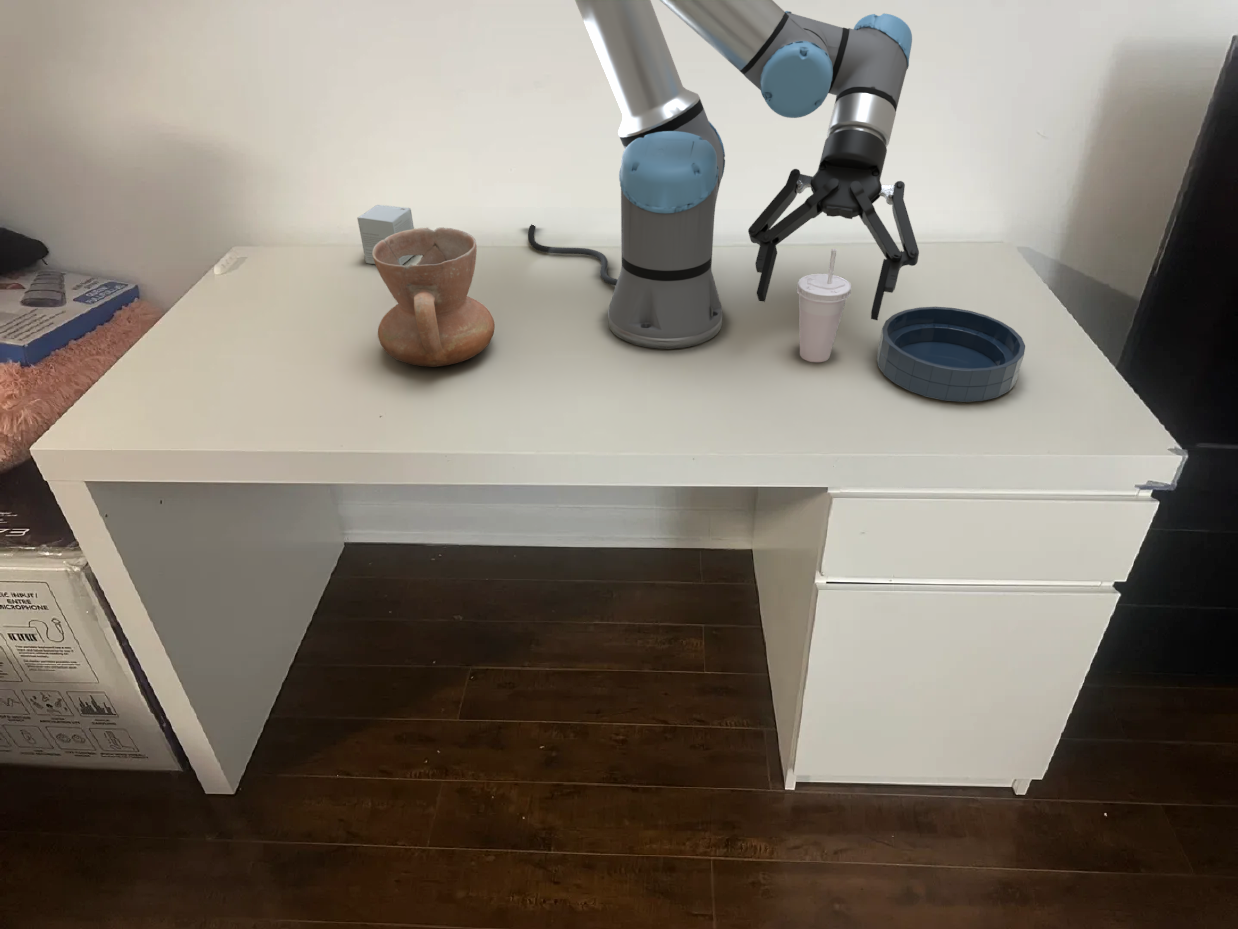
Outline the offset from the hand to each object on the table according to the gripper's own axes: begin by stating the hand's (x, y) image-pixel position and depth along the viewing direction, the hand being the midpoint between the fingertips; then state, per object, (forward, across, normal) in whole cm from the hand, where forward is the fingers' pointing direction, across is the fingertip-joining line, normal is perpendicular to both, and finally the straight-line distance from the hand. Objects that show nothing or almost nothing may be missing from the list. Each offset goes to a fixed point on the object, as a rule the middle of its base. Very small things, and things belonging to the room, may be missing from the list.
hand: (816, 306), depth 104 cm
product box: (-1, +67, -13) cm, 68 cm away
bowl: (+2, -16, -8) cm, 18 cm away
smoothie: (+4, 0, -7) cm, 8 cm away
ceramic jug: (+16, +44, +4) cm, 47 cm away
